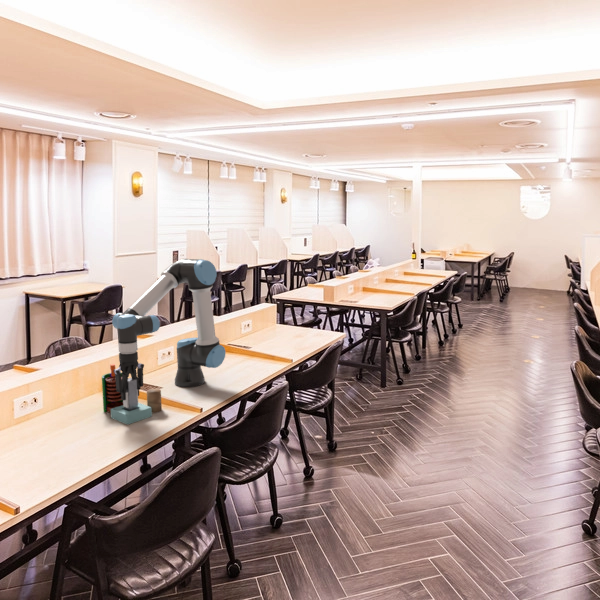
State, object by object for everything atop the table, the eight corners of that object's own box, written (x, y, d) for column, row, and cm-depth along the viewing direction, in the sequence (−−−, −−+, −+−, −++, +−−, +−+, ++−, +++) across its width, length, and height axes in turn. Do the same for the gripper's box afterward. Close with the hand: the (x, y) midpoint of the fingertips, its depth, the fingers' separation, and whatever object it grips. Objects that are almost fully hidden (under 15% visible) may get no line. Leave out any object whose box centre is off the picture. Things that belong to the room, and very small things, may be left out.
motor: (106, 414, 231) (104, 369, 228) (100, 408, 238) (97, 365, 235) (130, 409, 237) (127, 366, 234) (123, 404, 244) (121, 361, 241)
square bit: (132, 409, 230) (131, 377, 228) (138, 411, 228) (136, 379, 226) (124, 411, 227) (122, 379, 225) (129, 413, 225) (128, 381, 223)
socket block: (135, 410, 236) (135, 401, 236) (151, 416, 229) (151, 407, 228) (111, 417, 227) (110, 408, 227) (127, 424, 220) (126, 415, 219)
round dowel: (156, 407, 240) (155, 387, 239) (164, 410, 236) (163, 390, 235) (144, 411, 235) (143, 391, 234) (153, 414, 232) (152, 394, 230)
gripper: (140, 346, 233) (142, 398, 236) (104, 354, 220) (107, 409, 223) (150, 349, 228) (153, 402, 231) (114, 357, 215) (117, 413, 218)
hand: (130, 405), depth 227 cm, fingers closed on square bit, 4 cm apart
